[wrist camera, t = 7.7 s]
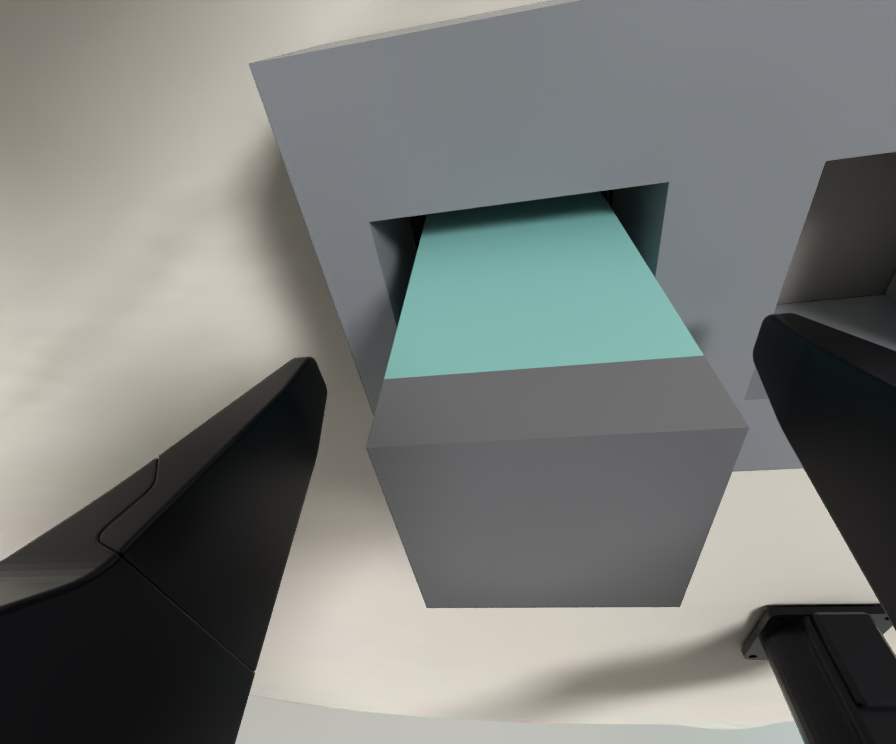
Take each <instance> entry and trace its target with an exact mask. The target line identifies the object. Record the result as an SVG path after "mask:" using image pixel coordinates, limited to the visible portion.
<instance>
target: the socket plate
mask: <svg viewBox="0 0 896 744" xmlns="http://www.w3.org/2000/svg"><path fill="white" fill-rule="evenodd" d="M249 66H250V69H251V71H252V74H253V77H254V80H255V83H256V85H257V88H258V91H259V94H260V97H261V100H262V102H263V105H264V108H265V111H266V114H267V116H268V119H269V122H270V125H271V128H272V131H273V133H274V136H275V139H276V142H277V145H278V147H279V150H280V153H281V156H282V159H283V161H284V164H285V167H286V170H287V173H288V176H289V178H290V181H291V184H292V187H293V190H294V192H295V195H296V198H297V201H298V204H299V207H300V209H301V212H302V215H303V218H304V221H305V223H306V226H307V229H308V232H309V235H310V238H311V240H312V243H313V246H314V249H315V252H316V254H317V257H318V260H319V263H320V266H321V268H322V271H323V274H324V277H325V280H326V283H327V285H328V288H329V291H330V294H331V297H332V299H333V302H334V305H335V308H336V311H337V314H338V316H339V319H340V322H341V325H342V328H343V330H344V333H345V336H346V339H347V342H348V344H349V347H350V350H351V353H352V356H353V359H354V361H355V364H356V367H357V370H358V373H359V375H360V378H361V381H362V384H363V387H364V390H365V392H366V395H367V398H368V401H369V404H370V406H371V409H372V412H373V415H374V416H375V412H376V408H377V404H378V400H379V396H380V393H381V389H382V385H383V381H384V377H385V373H386V370H387V366H388V362H389V358H390V354H391V350H392V346H393V343H394V339H395V335H396V331H397V327H398V323H399V320H400V316H401V312H402V308H403V304H404V300H405V297H406V293H407V289H408V285H409V281H410V277H411V273H412V270H413V266H414V262H415V258H416V254H417V252H416V247H415V242H414V237H413V232H412V228H411V223H410V218H409V217H410V216H417V215H425V214H432V213H440V212H447V211H455V210H462V209H470V208H477V207H485V206H492V205H500V204H507V203H515V202H522V201H530V200H537V199H545V198H552V197H560V196H567V195H575V194H582V193H590V192H597V191H605V190H612V189H613V193H612V207H611V209H612V210H613V212H614V213H615V215H616V217H617V218H618V220H619V221H620V223H621V224H622V226H623V228H624V229H625V231H626V232H627V234H628V236H629V237H630V239H631V240H632V242H633V244H634V245H635V247H636V248H637V250H638V251H639V253H640V255H641V256H642V258H643V259H644V261H645V263H646V264H647V266H648V267H649V269H650V270H651V272H652V274H653V275H654V277H655V278H656V280H657V282H658V283H659V285H660V286H661V288H662V290H663V291H664V293H665V294H666V296H667V297H668V299H669V301H670V302H671V304H672V305H673V307H674V309H675V310H676V312H677V313H678V315H679V316H680V318H681V320H682V321H683V323H684V324H685V326H686V328H687V329H688V331H689V332H690V334H691V336H692V337H693V339H694V340H695V342H696V343H697V345H698V347H699V348H700V350H701V351H702V353H703V355H704V356H705V358H706V359H707V361H708V362H709V364H710V366H711V367H712V369H713V370H714V372H715V374H716V375H717V377H718V378H719V380H720V382H721V383H722V385H723V386H724V388H725V389H726V391H727V393H728V394H729V396H730V397H731V399H732V401H733V402H734V404H735V405H736V407H737V408H738V410H739V412H740V413H741V415H742V416H743V418H744V420H745V421H746V423H747V424H748V426H749V430H748V432H747V435H746V437H745V440H744V442H743V445H742V448H741V450H740V453H739V455H738V458H737V461H736V463H735V466H734V468H733V471H755V470H776V469H797V468H803V466H802V464H801V463H800V461H799V459H798V457H797V456H796V454H795V452H794V450H793V449H792V447H791V445H790V443H789V442H788V440H787V438H786V436H785V434H784V432H783V430H782V429H781V427H780V424H779V422H778V420H777V418H776V416H775V413H774V411H773V408H772V406H771V403H770V401H769V399H768V396H767V394H766V391H765V389H764V386H763V384H762V381H761V379H760V377H759V374H758V372H757V369H756V367H755V364H754V361H753V348H754V345H755V342H756V339H757V336H758V333H759V330H760V327H761V324H762V321H763V319H764V318H765V317H766V316H768V315H770V314H779V313H795V314H798V315H800V316H803V317H806V318H809V319H811V320H814V321H817V322H819V323H822V324H825V325H827V326H830V327H833V328H835V329H838V330H841V331H843V332H846V333H849V334H851V335H854V336H857V337H859V338H862V339H865V340H868V341H870V342H873V343H876V344H878V345H881V346H884V347H886V348H889V349H892V350H894V351H896V272H895V274H894V276H893V278H892V280H891V282H890V284H889V286H888V288H887V290H886V292H885V294H884V295H875V296H865V297H854V298H843V299H833V300H822V301H811V302H801V303H790V304H780V305H777V302H778V299H779V296H780V293H781V290H782V287H783V284H784V282H785V279H786V276H787V273H788V270H789V267H790V264H791V261H792V258H793V255H794V252H795V249H796V247H797V244H798V241H799V238H800V235H801V232H802V229H803V226H804V223H805V220H806V217H807V215H808V212H809V209H810V206H811V203H812V200H813V197H814V194H815V191H816V188H817V185H818V182H819V180H820V177H821V174H822V171H823V168H824V165H825V162H826V161H830V160H838V159H845V158H853V157H860V156H868V155H875V154H883V153H890V152H896V0H552V1H547V2H541V3H536V4H531V5H526V6H521V7H516V8H510V9H505V10H500V11H495V12H490V13H485V14H479V15H474V16H469V17H464V18H459V19H454V20H448V21H443V22H438V23H433V24H428V25H422V26H417V27H412V28H407V29H402V30H397V31H391V32H386V33H381V34H376V35H371V36H366V37H360V38H355V39H350V40H345V41H340V42H334V43H329V44H324V45H319V46H315V47H311V48H307V49H304V50H300V51H296V52H292V53H288V54H284V55H281V56H277V57H273V58H269V59H265V60H261V61H258V62H254V63H250V64H249ZM733 471H732V472H733Z"/></svg>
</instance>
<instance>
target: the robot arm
mask: <svg viewBox="0 0 896 744" xmlns="http://www.w3.org/2000/svg"><path fill="white" fill-rule="evenodd" d="M753 361H754V364H755V367H756V369H757V372H758V374H759V377H760V379H761V381H762V384H763V386H764V389H765V391H766V394H767V396H768V399H769V401H770V403H771V406H772V408H773V411H774V413H775V416H776V418H777V420H778V422H779V424H780V427H781V429H782V430H783V432H784V434H785V436H786V438H787V440H788V442H789V443H790V445H791V447H792V449H793V450H794V452H795V454H796V456H797V457H798V459H799V461H800V463H801V464H802V466H803V468H804V470H805V472H806V473H807V475H808V477H809V479H810V480H811V482H812V484H813V486H814V487H815V489H816V491H817V493H818V494H819V496H820V498H821V500H822V501H823V503H824V505H825V507H826V509H827V510H828V512H829V514H830V516H831V517H832V519H833V521H834V523H835V524H836V526H837V528H838V530H839V531H840V533H841V535H842V537H843V539H844V540H845V542H846V544H847V546H848V547H849V549H850V551H851V553H852V554H853V556H854V558H855V560H856V561H857V563H858V565H859V567H860V568H861V570H862V572H863V574H864V576H865V577H866V579H867V581H868V583H869V584H870V586H871V588H872V590H873V591H874V593H875V595H876V597H877V598H878V600H879V602H880V604H881V605H882V606H856V607H774V608H770V609H768V610H766V611H765V613H764V615H763V616H762V618H761V619H760V621H759V622H758V624H757V626H756V627H755V629H754V630H753V632H752V634H751V635H750V637H749V638H748V640H747V641H746V643H745V645H744V646H743V648H742V649H741V651H742V654H743V656H744V658H745V659H750V660H768V661H769V663H770V665H771V668H772V670H773V672H774V675H775V677H776V679H777V681H778V684H779V686H780V688H781V691H782V693H783V695H784V698H785V700H786V702H787V704H788V707H789V709H790V711H791V714H792V716H793V718H794V721H795V723H796V725H797V727H798V730H799V732H800V734H801V736H802V739H803V741H804V743H805V744H896V655H895V654H894V652H893V650H892V649H891V647H890V646H889V644H888V643H887V641H886V639H885V638H884V636H883V634H884V633H885V632H886V631H887V630H888V629H889V628H890V627H891V626H892V625H893V627H894V628H895V630H896V351H894V350H892V349H889V348H886V347H884V346H881V345H878V344H876V343H873V342H870V341H868V340H865V339H862V338H859V337H857V336H854V335H851V334H849V333H846V332H843V331H841V330H838V329H835V328H833V327H830V326H827V325H825V324H822V323H819V322H817V321H814V320H811V319H809V318H806V317H803V316H800V315H798V314H795V313H779V314H770V315H768V316H766V317H765V318H764V319H763V321H762V324H761V327H760V330H759V333H758V336H757V339H756V342H755V345H754V348H753ZM326 398H327V388H326V384H325V382H324V379H323V377H322V375H321V372H320V370H319V368H318V365H317V363H316V361H315V360H314V358H312V357H299V358H293V359H292V360H290V361H289V362H287V363H286V364H285V365H283V366H282V367H281V368H279V369H278V370H276V371H275V372H274V373H272V374H271V375H270V376H268V377H267V378H265V379H264V380H263V381H261V382H260V383H259V384H257V385H256V386H254V387H253V388H252V389H250V390H249V391H247V392H246V393H245V394H243V395H242V396H241V397H239V398H238V399H236V400H235V401H234V402H232V403H231V404H230V405H228V406H227V407H225V408H224V409H223V410H221V411H220V412H219V413H217V414H216V415H214V416H213V417H212V418H210V419H209V420H207V421H206V422H205V423H203V424H202V425H201V426H199V427H198V428H196V429H195V430H194V431H192V432H191V433H190V434H188V435H187V436H185V437H184V438H183V439H181V440H180V441H179V442H177V443H176V444H174V445H173V446H172V447H170V448H169V449H167V450H166V451H165V452H163V453H162V454H161V455H159V457H158V459H157V458H156V459H153V460H152V461H151V462H149V463H148V464H147V465H145V466H144V467H143V468H141V469H140V470H138V471H137V472H136V473H134V474H133V475H131V476H130V477H128V478H127V479H126V480H124V481H123V482H121V483H120V484H119V485H117V486H116V487H114V488H113V489H111V490H110V491H108V492H107V493H105V494H104V495H102V496H101V497H99V498H98V499H96V500H95V501H93V502H92V503H90V504H89V505H87V506H86V507H84V508H83V509H81V510H80V511H78V512H77V513H75V514H73V515H72V516H70V517H69V518H67V519H66V520H64V521H63V522H61V523H60V524H58V525H56V526H55V527H53V528H52V529H50V530H49V531H47V532H46V533H44V534H43V535H41V536H39V537H38V538H36V539H35V540H33V541H32V542H30V543H29V544H27V545H26V546H24V547H22V548H21V549H19V550H18V551H16V552H15V553H13V554H12V555H10V556H9V557H7V558H5V559H4V560H2V561H0V744H235V741H236V738H237V734H238V731H239V727H240V724H241V720H242V717H243V713H244V710H245V707H246V703H247V699H248V696H249V693H250V689H251V686H252V682H253V679H254V675H255V672H254V671H255V670H256V667H257V664H258V660H259V657H260V653H261V650H262V646H263V643H264V639H265V636H266V632H267V629H268V625H269V622H270V618H271V615H272V611H273V608H274V604H275V601H276V597H277V594H278V590H279V587H280V583H281V580H282V576H283V573H284V569H285V566H286V562H287V559H288V555H289V552H290V548H291V545H292V542H293V538H294V535H295V531H296V528H297V524H298V521H299V517H300V514H301V510H302V507H303V503H304V500H305V496H306V493H307V489H308V486H309V482H310V479H311V475H312V472H313V468H314V465H315V461H316V457H317V453H318V448H319V442H320V436H321V430H322V423H323V417H324V411H325V405H326Z"/></svg>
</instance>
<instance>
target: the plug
mask: <svg viewBox="0 0 896 744" xmlns="http://www.w3.org/2000/svg"><path fill="white" fill-rule="evenodd" d="M748 430H749V426H748V424H747V423H746V421H745V420H744V418H743V416H742V415H741V413H740V412H739V410H738V408H737V407H736V405H735V404H734V402H733V401H732V399H731V397H730V396H729V394H728V393H727V391H726V389H725V388H724V386H723V385H722V383H721V382H720V380H719V378H718V377H717V375H716V374H715V372H714V370H713V369H712V367H711V366H710V364H709V362H708V361H707V359H706V358H705V356H704V355H703V353H702V351H701V350H700V348H699V347H698V345H697V343H696V342H695V340H694V339H693V337H692V336H691V334H690V332H689V331H688V329H687V328H686V326H685V324H684V323H683V321H682V320H681V318H680V316H679V315H678V313H677V312H676V310H675V309H674V307H673V305H672V304H671V302H670V301H669V299H668V297H667V296H666V294H665V293H664V291H663V290H662V288H661V286H660V285H659V283H658V282H657V280H656V278H655V277H654V275H653V274H652V272H651V270H650V269H649V267H648V266H647V264H646V263H645V261H644V259H643V258H642V256H641V255H640V253H639V251H638V250H637V248H636V247H635V245H634V244H633V242H632V240H631V239H630V237H629V236H628V234H627V232H626V231H625V229H624V228H623V226H622V224H621V223H620V221H619V220H618V218H617V217H616V215H615V213H614V212H613V210H612V209H611V207H610V205H609V204H608V202H607V201H606V199H605V198H604V196H603V194H602V193H601V191H597V192H590V193H582V194H575V195H567V196H560V197H552V198H545V199H537V200H530V201H522V202H515V203H507V204H500V205H492V206H485V207H477V208H470V209H462V210H455V211H447V212H440V213H432V214H427V216H426V220H425V224H424V227H423V231H422V235H421V239H420V243H419V247H418V250H417V254H416V258H415V262H414V266H413V270H412V273H411V277H410V281H409V285H408V289H407V293H406V297H405V300H404V304H403V308H402V312H401V316H400V320H399V323H398V327H397V331H396V335H395V339H394V343H393V346H392V350H391V354H390V358H389V362H388V366H387V370H386V373H385V377H384V381H383V385H382V389H381V393H380V396H379V400H378V404H377V408H376V412H375V416H374V419H373V423H372V427H371V431H370V435H369V439H368V442H367V446H366V449H367V451H368V454H369V457H370V459H371V462H372V465H373V467H374V470H375V473H376V475H377V478H378V480H379V483H380V486H381V488H382V491H383V494H384V496H385V499H386V502H387V504H388V507H389V509H390V512H391V515H392V517H393V520H394V523H395V525H396V528H397V531H398V533H399V536H400V538H401V541H402V544H403V546H404V549H405V552H406V554H407V557H408V560H409V562H410V565H411V567H412V570H413V573H414V575H415V578H416V581H417V583H418V586H419V589H420V591H421V594H422V596H423V599H424V602H425V604H426V607H427V608H537V607H680V605H681V603H682V600H683V598H684V595H685V592H686V590H687V587H688V585H689V582H690V579H691V577H692V574H693V572H694V569H695V566H696V564H697V561H698V559H699V556H700V554H701V551H702V548H703V546H704V543H705V541H706V538H707V535H708V533H709V530H710V528H711V525H712V523H713V520H714V517H715V515H716V512H717V510H718V507H719V504H720V502H721V499H722V497H723V494H724V492H725V489H726V486H727V484H728V481H729V479H730V476H731V473H732V471H733V468H734V466H735V463H736V461H737V458H738V455H739V453H740V450H741V448H742V445H743V442H744V440H745V437H746V435H747V432H748Z"/></svg>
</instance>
